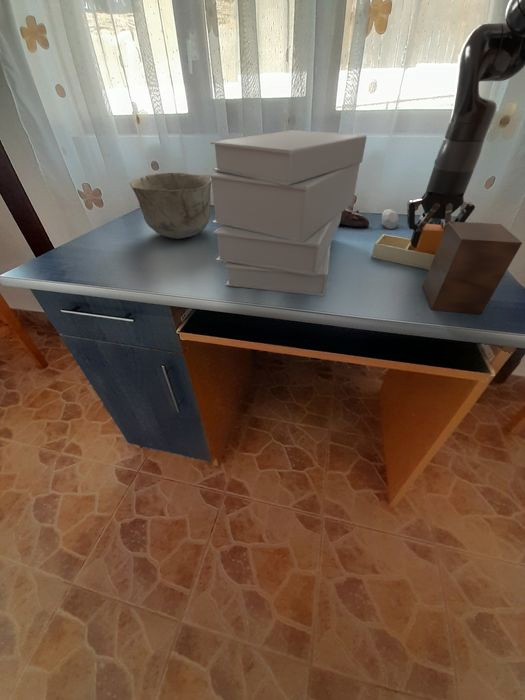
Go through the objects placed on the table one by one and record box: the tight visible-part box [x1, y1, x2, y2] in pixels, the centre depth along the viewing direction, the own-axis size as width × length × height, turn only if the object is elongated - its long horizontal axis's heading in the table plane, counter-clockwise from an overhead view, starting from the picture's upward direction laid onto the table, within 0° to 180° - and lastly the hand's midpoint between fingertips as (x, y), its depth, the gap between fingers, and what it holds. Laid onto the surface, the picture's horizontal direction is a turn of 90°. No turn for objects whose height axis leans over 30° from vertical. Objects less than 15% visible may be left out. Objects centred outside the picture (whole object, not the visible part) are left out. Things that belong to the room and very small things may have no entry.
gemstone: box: [381, 208, 400, 230], centre depth 93 cm, size 6×6×5 cm
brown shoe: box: [339, 207, 370, 228], centre depth 94 cm, size 6×12×11 cm
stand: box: [422, 221, 523, 316], centre depth 56 cm, size 9×9×14 cm
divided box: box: [371, 233, 435, 271], centre depth 73 cm, size 8×22×4 cm, turn 57°
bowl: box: [129, 172, 212, 240], centre depth 85 cm, size 22×22×15 cm
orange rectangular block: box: [412, 223, 444, 255], centre depth 71 cm, size 4×4×6 cm
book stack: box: [206, 129, 367, 297], centre depth 68 cm, size 30×35×26 cm
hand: (425, 246), depth 72 cm, fingers closed on orange rectangular block, 4 cm apart
